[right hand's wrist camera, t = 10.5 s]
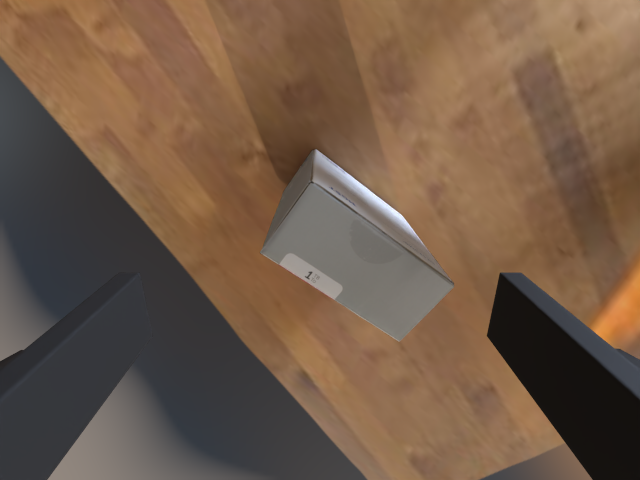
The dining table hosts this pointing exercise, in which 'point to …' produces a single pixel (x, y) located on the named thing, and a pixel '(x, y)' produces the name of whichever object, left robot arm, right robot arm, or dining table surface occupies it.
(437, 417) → the dining table surface
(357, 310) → the hard drive box
